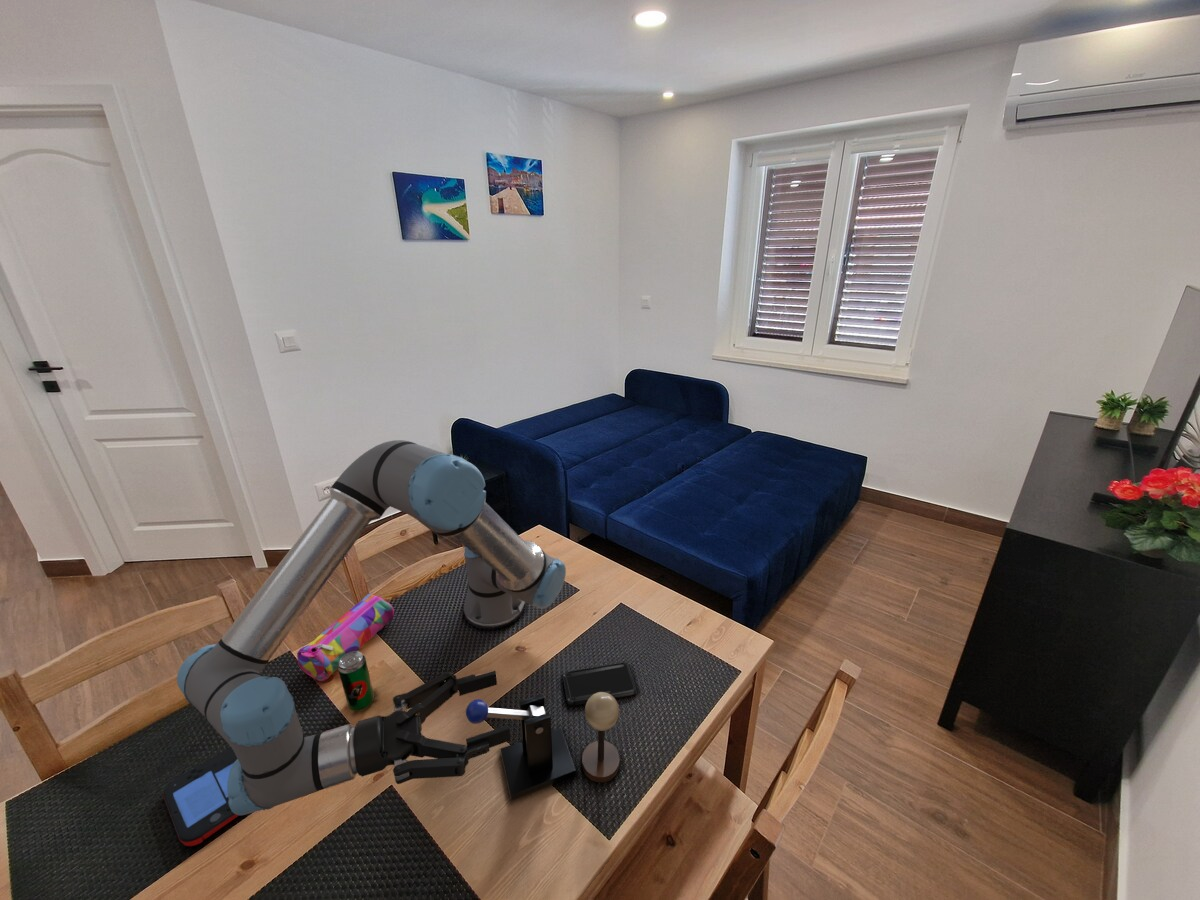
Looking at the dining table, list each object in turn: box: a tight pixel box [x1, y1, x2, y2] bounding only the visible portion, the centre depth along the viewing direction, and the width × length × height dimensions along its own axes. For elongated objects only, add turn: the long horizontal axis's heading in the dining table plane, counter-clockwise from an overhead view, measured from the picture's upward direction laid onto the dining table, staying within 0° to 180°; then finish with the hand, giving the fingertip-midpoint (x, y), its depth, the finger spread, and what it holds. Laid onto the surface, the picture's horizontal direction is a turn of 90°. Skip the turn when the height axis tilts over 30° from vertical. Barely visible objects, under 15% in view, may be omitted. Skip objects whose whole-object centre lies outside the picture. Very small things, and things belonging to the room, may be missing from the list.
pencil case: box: [296, 593, 395, 682], centre depth 112 cm, size 22×9×9 cm, turn 160°
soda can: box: [337, 650, 375, 712], centre depth 99 cm, size 5×5×12 cm
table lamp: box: [581, 692, 621, 784], centre depth 87 cm, size 7×7×17 cm
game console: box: [162, 746, 240, 847], centre depth 84 cm, size 14×13×2 cm
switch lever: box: [465, 698, 546, 725], centre depth 82 cm, size 14×4×4 cm, turn 113°
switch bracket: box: [500, 693, 577, 801], centre depth 87 cm, size 12×9×15 cm
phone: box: [562, 662, 637, 707], centre depth 106 cm, size 8×1×15 cm
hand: (502, 703), depth 81 cm, fingers open, 10 cm apart
